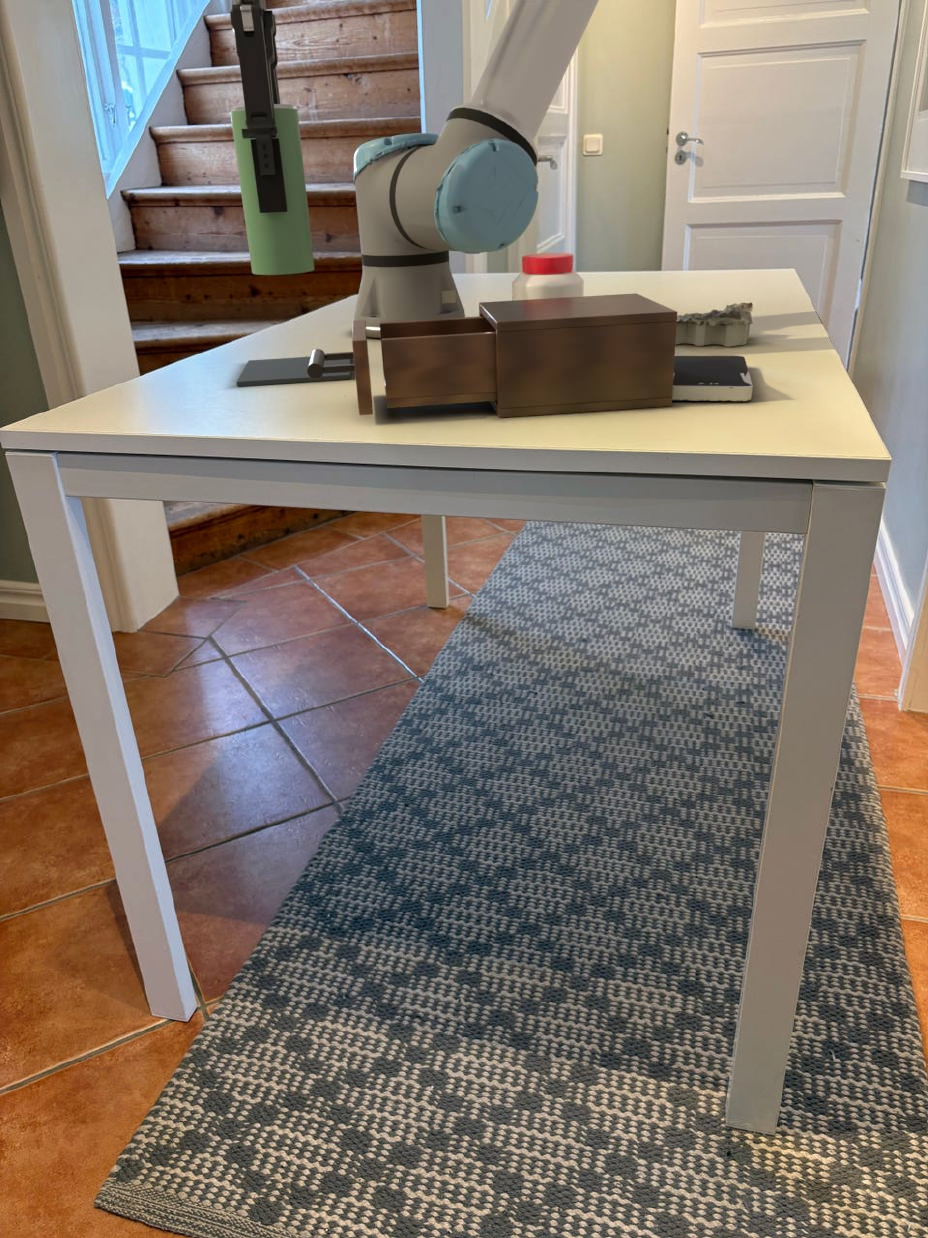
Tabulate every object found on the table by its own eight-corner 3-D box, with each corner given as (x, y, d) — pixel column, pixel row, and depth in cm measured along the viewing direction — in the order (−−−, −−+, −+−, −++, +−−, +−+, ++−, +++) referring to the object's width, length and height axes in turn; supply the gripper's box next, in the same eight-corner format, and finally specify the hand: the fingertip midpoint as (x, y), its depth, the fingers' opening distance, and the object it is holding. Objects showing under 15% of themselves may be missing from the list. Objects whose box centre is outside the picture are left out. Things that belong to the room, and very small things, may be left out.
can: (255, 269, 99) (233, 109, 92) (315, 266, 99) (298, 106, 92) (249, 276, 93) (225, 105, 86) (313, 272, 93) (294, 102, 86)
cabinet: (498, 417, 79) (496, 322, 75) (481, 386, 90) (478, 302, 86) (671, 406, 80) (677, 311, 76) (633, 376, 91) (636, 293, 88)
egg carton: (753, 337, 108) (757, 301, 106) (743, 348, 102) (747, 311, 100) (665, 333, 112) (668, 299, 110) (651, 344, 106) (653, 308, 104)
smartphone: (744, 355, 92) (753, 387, 79) (742, 368, 93) (751, 402, 80) (668, 355, 94) (665, 386, 81) (667, 368, 95) (664, 401, 82)
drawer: (310, 418, 78) (301, 343, 75) (316, 389, 88) (308, 322, 85) (523, 404, 79) (522, 330, 76) (504, 377, 89) (503, 311, 87)
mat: (249, 364, 106) (248, 360, 106) (351, 358, 107) (350, 353, 106) (236, 386, 95) (236, 381, 95) (350, 379, 96) (349, 374, 96)
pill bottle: (579, 368, 96) (581, 258, 91) (508, 368, 98) (506, 260, 93) (585, 354, 103) (587, 250, 98) (518, 354, 104) (517, 252, 99)
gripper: (217, -40, 91) (250, 208, 102) (184, -89, 74) (228, 216, 84) (291, -42, 92) (316, 205, 102) (275, -91, 75) (308, 212, 85)
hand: (276, 210), depth 93 cm, fingers closed on can, 7 cm apart
